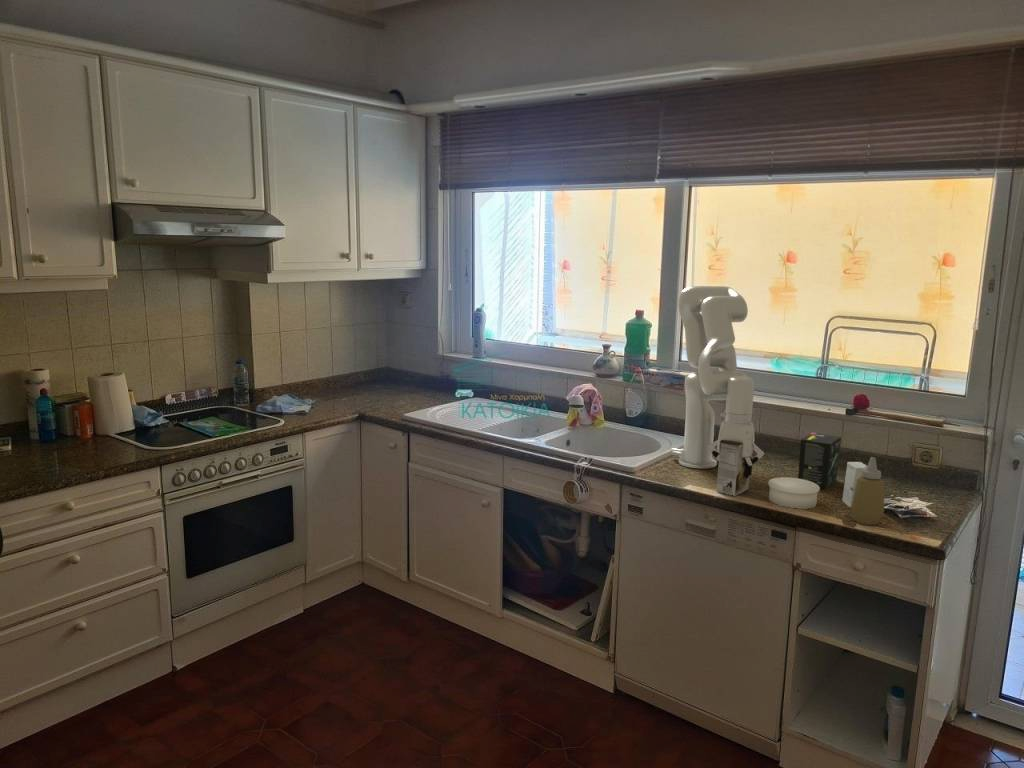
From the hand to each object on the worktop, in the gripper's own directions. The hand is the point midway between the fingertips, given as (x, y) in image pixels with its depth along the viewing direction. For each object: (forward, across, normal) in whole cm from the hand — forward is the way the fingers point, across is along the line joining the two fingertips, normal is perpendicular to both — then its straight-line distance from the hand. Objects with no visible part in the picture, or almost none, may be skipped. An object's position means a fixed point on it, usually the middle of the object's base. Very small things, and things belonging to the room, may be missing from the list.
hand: (733, 474), depth 225 cm
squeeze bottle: (+5, +37, -7) cm, 38 cm away
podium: (+5, +17, 0) cm, 18 cm away
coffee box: (+5, 0, 0) cm, 5 cm away
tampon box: (+6, +21, +23) cm, 32 cm away
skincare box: (+5, +33, +6) cm, 34 cm away
